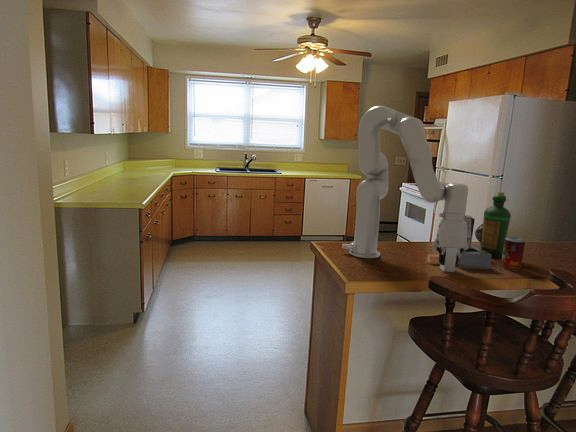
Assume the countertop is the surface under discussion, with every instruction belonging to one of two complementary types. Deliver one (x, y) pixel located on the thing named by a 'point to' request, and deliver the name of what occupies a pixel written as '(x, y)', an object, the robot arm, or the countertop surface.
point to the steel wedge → (449, 260)
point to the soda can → (513, 253)
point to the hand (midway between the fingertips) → (447, 264)
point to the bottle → (495, 226)
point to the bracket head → (468, 259)
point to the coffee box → (469, 228)
